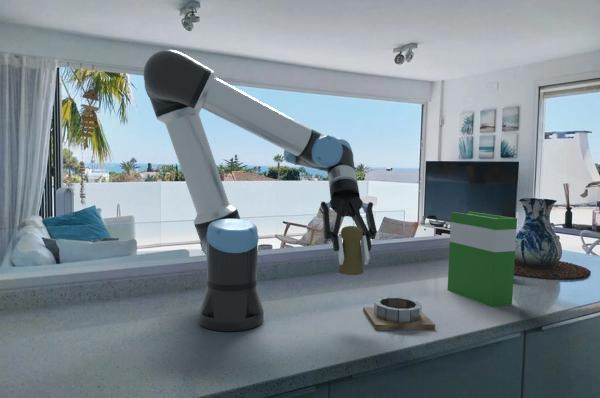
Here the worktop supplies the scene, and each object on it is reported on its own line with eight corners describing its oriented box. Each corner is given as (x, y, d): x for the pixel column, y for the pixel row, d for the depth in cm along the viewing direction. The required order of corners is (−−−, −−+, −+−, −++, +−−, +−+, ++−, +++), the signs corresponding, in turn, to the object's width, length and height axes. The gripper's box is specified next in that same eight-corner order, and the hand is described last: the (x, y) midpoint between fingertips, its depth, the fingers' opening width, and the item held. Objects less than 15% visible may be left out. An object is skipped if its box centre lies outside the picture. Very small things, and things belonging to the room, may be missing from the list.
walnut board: (375, 329, 105) (375, 324, 105) (363, 311, 118) (363, 306, 118) (435, 329, 106) (435, 324, 106) (416, 311, 119) (416, 306, 119)
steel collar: (381, 323, 106) (381, 310, 106) (370, 308, 117) (370, 296, 117) (427, 322, 107) (427, 310, 107) (412, 308, 118) (412, 296, 118)
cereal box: (447, 289, 141) (451, 212, 139) (466, 288, 144) (470, 211, 142) (491, 306, 125) (496, 219, 123) (511, 304, 128) (517, 218, 126)
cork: (362, 275, 107) (364, 228, 106) (336, 274, 108) (337, 227, 107) (364, 269, 113) (365, 225, 112) (339, 268, 114) (340, 224, 113)
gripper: (374, 196, 125) (389, 270, 110) (308, 195, 124) (313, 270, 109) (380, 177, 120) (396, 252, 105) (310, 176, 118) (316, 252, 103)
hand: (354, 261), depth 107 cm, fingers closed on cork, 5 cm apart
